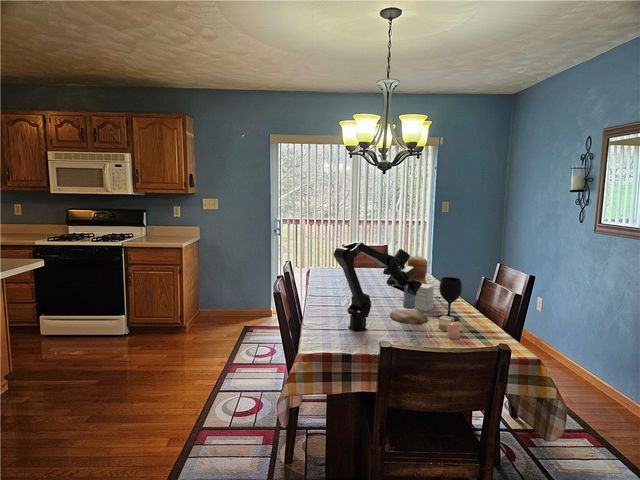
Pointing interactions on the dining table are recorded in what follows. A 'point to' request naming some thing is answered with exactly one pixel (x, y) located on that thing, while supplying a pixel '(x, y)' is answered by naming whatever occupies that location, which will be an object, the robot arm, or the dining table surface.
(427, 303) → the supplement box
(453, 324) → the pink short cylinder
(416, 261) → the butternut squash
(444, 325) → the birch block
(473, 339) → the dining table surface
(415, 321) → the brown bread loaf
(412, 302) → the blue-grey cup
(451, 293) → the wine glass
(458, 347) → the dining table surface
